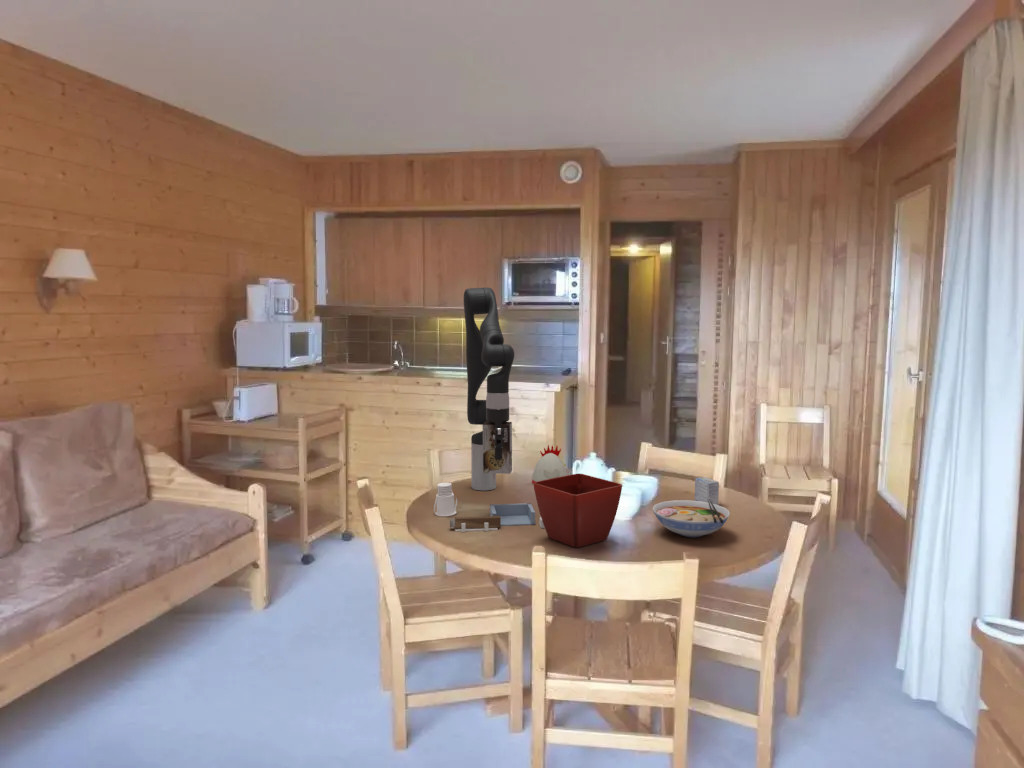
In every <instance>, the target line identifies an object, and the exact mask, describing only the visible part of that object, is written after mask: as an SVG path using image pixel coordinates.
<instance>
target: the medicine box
mask: <svg viewBox="0 0 1024 768" xmlns="http://www.w3.org/2000/svg"><path fill="white" fill-rule="evenodd" d="M694 480H695V481H694V501H702V502H707V503H708V501H709V503H711V502H712V504H716V505H719V499H720V498H719V489H720V488H719V487H720V483H719V481H717V480H715V479H712V478H709V477H707V476H702V477H700V476H699V477H696V478H694ZM707 499H708V500H707ZM709 499H710V500H709ZM710 501H711V502H710Z"/></svg>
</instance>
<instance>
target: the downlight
mask: <svg viewBox="0 0 1024 768" xmlns="http://www.w3.org/2000/svg"><path fill="white" fill-rule="evenodd" d="M452 488H453V486H452V483H451V482H440V483H437V493H436V495H435V496H436V497H435V501H434V504H433V505H434V506H433V512H434V515H435V516H438V517H451V516H454V515H456V514H457V510H456V509H457V504H458V498H457V497H455V495H454V494H455V493H454V492H453V489H452Z"/></svg>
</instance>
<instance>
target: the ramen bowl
mask: <svg viewBox="0 0 1024 768" xmlns="http://www.w3.org/2000/svg"><path fill="white" fill-rule="evenodd" d="M707 500H708V499H707ZM709 500H710V499H709ZM710 502H711V501H710ZM652 511H653V513H654V515H655V517H656V518H657V520H658V521H659V523H660V524H661V526H663V527H664V528H666V529H667V530H669V531H670V532H673V533H675V534H677V535H679V536H682V537H684V538H685V537H686V538H700V537H703V536H706V535H711V534H713V533H714V532H716V531H718V530H720V529H721V528H722V527H723V526H724V525H725V523H727V521H728V519H729V517H730V514H731V511H729V510H728V508H726V507H724V506H721V505H719V504H718V505H716V504H712V502H711V503H709V501H708V503H707V502H702V501H695V500H692V499H691V500H689V499H686V500H685V499H683V500H681V499H679V500H677V499H674V500H667V501H661V502H658V503H656V504H654V505H653V506H652Z"/></svg>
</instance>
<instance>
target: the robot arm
mask: <svg viewBox="0 0 1024 768" xmlns="http://www.w3.org/2000/svg"><path fill="white" fill-rule="evenodd" d="M463 310H464V321H465V338H466V339H465V341H466V342H465V344H466V345H465V349H466V351H465V352H466V353H465V356H466V373H467V374H466V375H467V379H466V380H467V405H466V407H467V408H466V409H467V412H466V416H467V422H468V423H469V424H470V425H479V426H481V425H483V424H484V423H485V422H494V424H495V435H493V441H494V442H495V445H494V447H495V459H496V460H501V459H502V448H503V440H504V438H503V431H504V429H503V428H502V422H510V394H509V392H510V391H509V390H510V389H509V387H510V386H509V381H510V375H511V371H512V367H513V364H514V360H515V351H514V348H513V347H512V346H511V345H510V344H504V343H505V339H504V335H503V331H502V329H501V326H500V320H499V319H500V318H499V311H498V303H497V298H496V293H495V291H494V290H493V288H491V287H470V288H466V289H465V290H464V291H463ZM475 315H485V317H484V319H483V320H482V322H481V324H480V327H478V325H477V323H476V321H475ZM493 367H495V368H496V367H501V368H500V370H499V371H498V372H495V373H491V374H490V372H491V370H492V368H493ZM485 380H486V398H485V399H477V394H478V391H479V389H480V388H481V386H482V385H483V383H484V381H485ZM470 440H471V441H470V444H471V448H470V450H471V453H470V454H471V456H470V457H471V479H470V480H471V489H472V490H475V491H492V490H495V489H496V488H497V474H489V473H483V430H481V431H479V432H476V433H474V434H472V435H471V439H470ZM497 441H501V443H497Z"/></svg>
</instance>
